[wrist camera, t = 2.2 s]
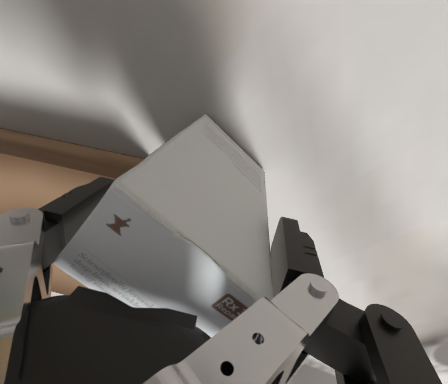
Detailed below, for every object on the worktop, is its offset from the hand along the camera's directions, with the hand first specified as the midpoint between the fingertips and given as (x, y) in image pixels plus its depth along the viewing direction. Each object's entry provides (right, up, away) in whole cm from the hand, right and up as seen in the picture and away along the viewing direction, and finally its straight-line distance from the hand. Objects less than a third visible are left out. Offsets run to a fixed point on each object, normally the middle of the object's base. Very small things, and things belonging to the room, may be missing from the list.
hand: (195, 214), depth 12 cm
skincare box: (+1, +3, +6) cm, 7 cm away
